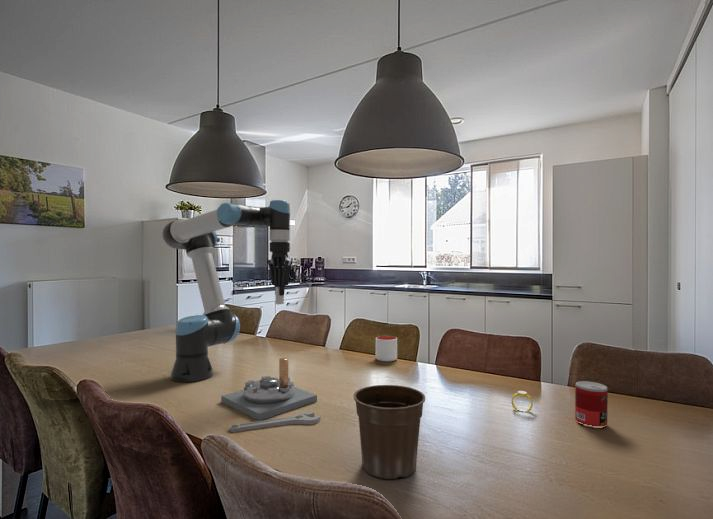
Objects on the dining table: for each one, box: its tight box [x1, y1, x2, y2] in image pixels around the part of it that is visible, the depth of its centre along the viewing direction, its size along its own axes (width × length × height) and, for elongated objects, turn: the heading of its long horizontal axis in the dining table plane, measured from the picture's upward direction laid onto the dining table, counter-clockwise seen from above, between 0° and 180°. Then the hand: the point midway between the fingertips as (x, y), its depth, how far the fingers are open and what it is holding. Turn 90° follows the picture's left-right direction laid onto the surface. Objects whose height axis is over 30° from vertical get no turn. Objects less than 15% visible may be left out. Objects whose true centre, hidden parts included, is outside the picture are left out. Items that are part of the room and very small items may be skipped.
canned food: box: [574, 380, 609, 426], centre depth 116 cm, size 8×8×11 cm
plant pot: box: [353, 384, 426, 480], centre depth 93 cm, size 16×16×16 cm
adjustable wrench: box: [228, 411, 322, 433], centre depth 116 cm, size 25×6×2 cm, turn 105°
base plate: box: [220, 386, 318, 421], centre depth 133 cm, size 22×22×2 cm
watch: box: [511, 390, 534, 412], centre depth 126 cm, size 6×3×6 cm, turn 67°
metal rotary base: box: [243, 357, 295, 404], centre depth 133 cm, size 17×16×13 cm
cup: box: [375, 335, 398, 363], centre depth 188 cm, size 10×10×10 cm
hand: (279, 304), depth 154 cm, fingers closed
